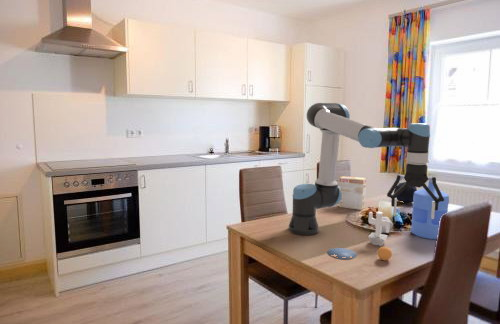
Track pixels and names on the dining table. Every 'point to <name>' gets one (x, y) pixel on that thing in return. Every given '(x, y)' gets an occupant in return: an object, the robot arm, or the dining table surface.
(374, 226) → the die
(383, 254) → the ball
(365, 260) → the dining table surface
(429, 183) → the water jug
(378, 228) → the figurine
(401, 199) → the decorative orb
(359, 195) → the coffeecake box
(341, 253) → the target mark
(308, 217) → the robot arm
